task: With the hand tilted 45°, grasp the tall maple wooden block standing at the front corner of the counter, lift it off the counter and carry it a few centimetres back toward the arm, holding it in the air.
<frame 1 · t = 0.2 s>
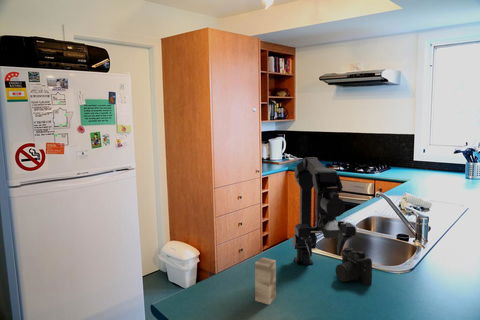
hand: (324, 255, 118), 14 cm above the worktop, tool pointing down, fingers open, 9 cm apart
maple block: (265, 299, 119), on the worktop
camera: (349, 278, 133), on the worktop
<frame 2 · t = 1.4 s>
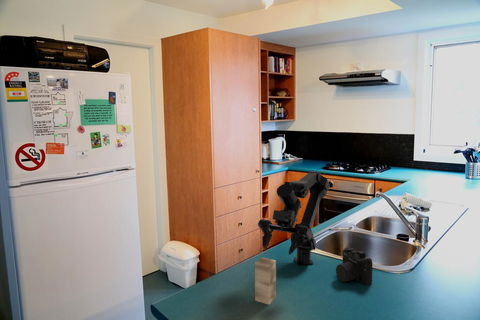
hand: (276, 251, 124), 13 cm above the worktop, tool tilted 45°, fingers open, 9 cm apart
nothing on the worktop moved.
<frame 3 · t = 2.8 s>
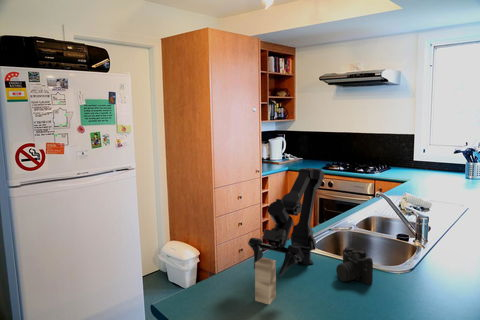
hand: (267, 272, 119), 9 cm above the worktop, tool tilted 45°, fingers open, 9 cm apart
nothing on the worktop moved.
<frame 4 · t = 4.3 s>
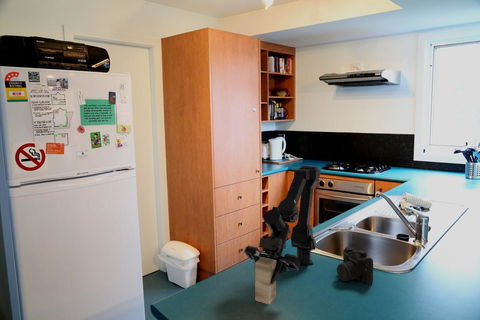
hand: (263, 281, 117), 7 cm above the worktop, tool tilted 45°, fingers closed on maple block, 5 cm apart
maple block: (265, 299, 119), on the worktop, touching gripper
everything else where it was.
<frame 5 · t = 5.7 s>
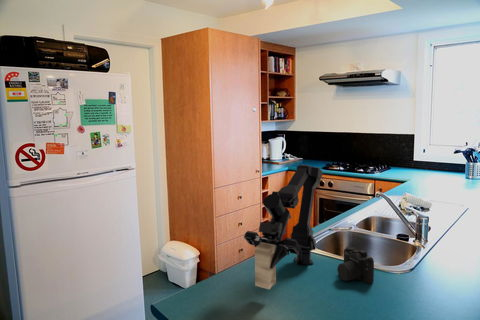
hand: (263, 266, 116), 12 cm above the worktop, tool tilted 45°, fingers closed on maple block, 5 cm apart
maple block: (265, 284, 118), point 5 cm above the worktop, touching gripper
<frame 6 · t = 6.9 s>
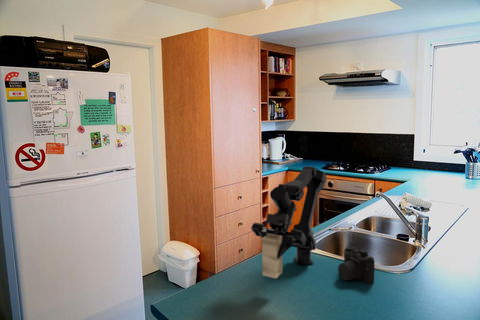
hand: (270, 256, 120), 13 cm above the worktop, tool tilted 45°, fingers closed on maple block, 5 cm apart
maple block: (272, 273, 122), point 7 cm above the worktop, touching gripper
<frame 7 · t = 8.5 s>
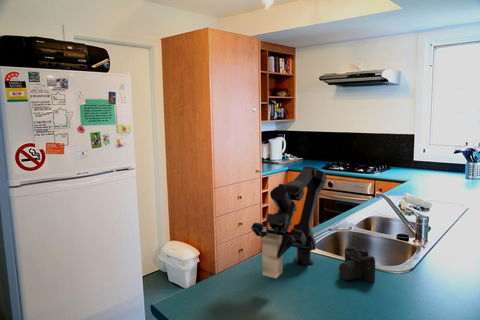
hand: (270, 256, 120), 13 cm above the worktop, tool tilted 45°, fingers closed on maple block, 5 cm apart
maple block: (272, 273, 122), point 7 cm above the worktop, touching gripper
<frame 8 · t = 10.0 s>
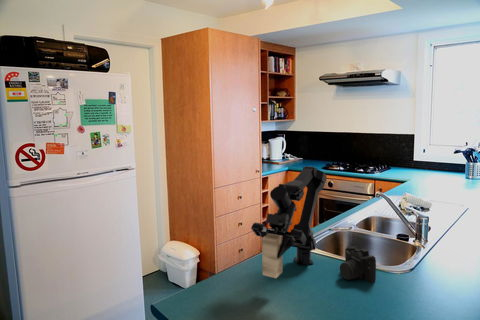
hand: (270, 256, 120), 13 cm above the worktop, tool tilted 45°, fingers closed on maple block, 5 cm apart
maple block: (272, 273, 122), point 7 cm above the worktop, touching gripper
at the end: the gripper is holding maple block; maple block inside the target area (0.1 cm from its centre), point 6.7 cm above the worktop; maple block tilted 0° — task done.
